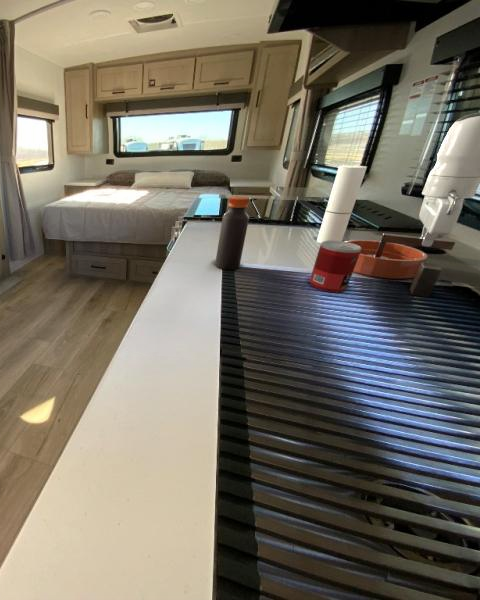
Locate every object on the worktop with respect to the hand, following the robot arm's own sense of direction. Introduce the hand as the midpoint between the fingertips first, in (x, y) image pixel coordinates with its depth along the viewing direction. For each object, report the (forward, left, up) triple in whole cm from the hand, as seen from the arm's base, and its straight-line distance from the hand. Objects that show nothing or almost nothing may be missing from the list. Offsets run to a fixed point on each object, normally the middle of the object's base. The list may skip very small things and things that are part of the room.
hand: (424, 244), depth 85 cm
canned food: (+18, +20, -9) cm, 28 cm away
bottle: (+43, +19, -9) cm, 47 cm away
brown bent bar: (+3, 0, -8) cm, 8 cm away
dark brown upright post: (0, +13, -9) cm, 15 cm away
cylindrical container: (+20, -24, -9) cm, 33 cm away
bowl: (+8, -2, -9) cm, 12 cm away
